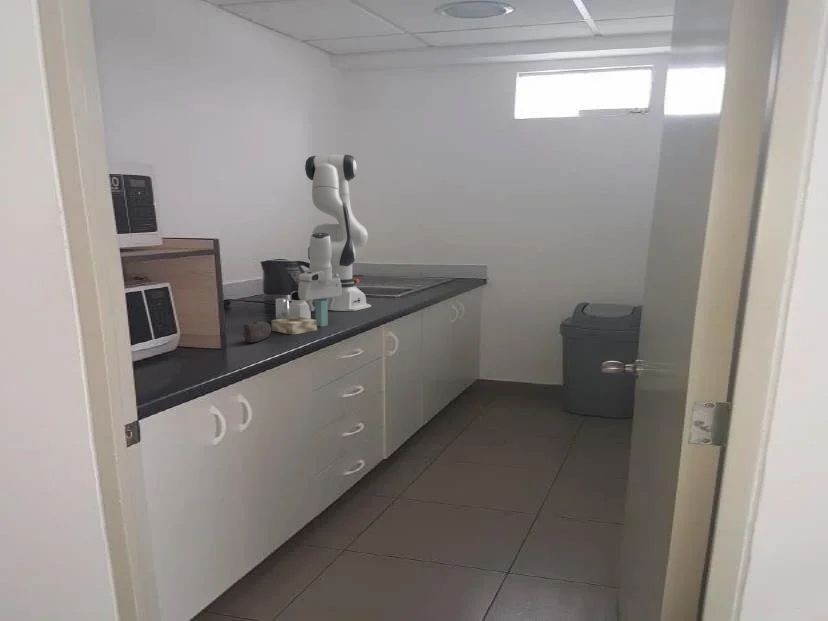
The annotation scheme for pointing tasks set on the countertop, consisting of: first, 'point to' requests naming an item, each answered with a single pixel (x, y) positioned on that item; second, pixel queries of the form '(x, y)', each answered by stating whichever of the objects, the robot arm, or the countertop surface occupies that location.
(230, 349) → the countertop surface
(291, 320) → the bore block
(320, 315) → the square bit
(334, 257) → the robot arm
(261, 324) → the perforated stone tool
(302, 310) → the medicine bottle
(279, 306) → the cylinder
